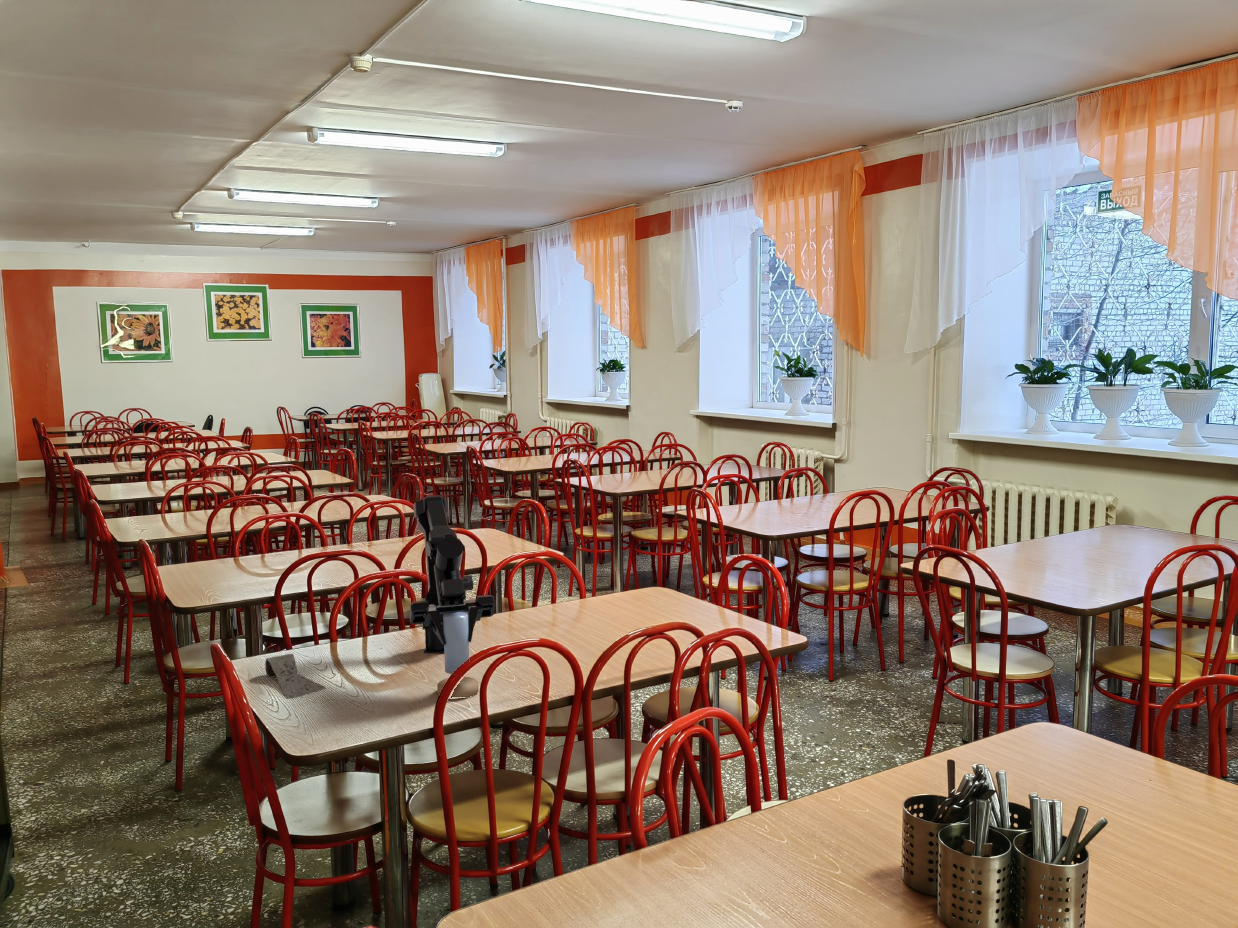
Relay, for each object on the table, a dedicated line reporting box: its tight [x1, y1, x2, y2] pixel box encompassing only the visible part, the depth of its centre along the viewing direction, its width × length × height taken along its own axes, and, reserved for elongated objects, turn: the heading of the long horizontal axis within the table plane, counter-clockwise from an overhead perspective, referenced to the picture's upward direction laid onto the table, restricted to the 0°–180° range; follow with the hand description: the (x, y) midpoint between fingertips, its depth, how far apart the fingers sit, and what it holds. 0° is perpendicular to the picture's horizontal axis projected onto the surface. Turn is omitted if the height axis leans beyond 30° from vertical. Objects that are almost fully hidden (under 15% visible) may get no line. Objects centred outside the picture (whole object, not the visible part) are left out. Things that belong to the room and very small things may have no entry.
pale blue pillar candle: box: [443, 612, 470, 675], centre depth 208 cm, size 5×5×12 cm
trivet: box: [436, 676, 479, 698], centre depth 209 cm, size 9×9×2 cm
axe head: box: [264, 653, 326, 700], centre depth 216 cm, size 21×5×10 cm
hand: (457, 642), depth 206 cm, fingers closed on pale blue pillar candle, 5 cm apart
